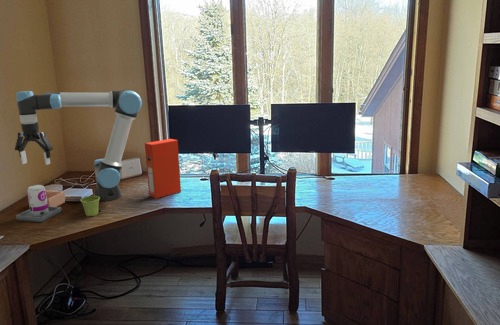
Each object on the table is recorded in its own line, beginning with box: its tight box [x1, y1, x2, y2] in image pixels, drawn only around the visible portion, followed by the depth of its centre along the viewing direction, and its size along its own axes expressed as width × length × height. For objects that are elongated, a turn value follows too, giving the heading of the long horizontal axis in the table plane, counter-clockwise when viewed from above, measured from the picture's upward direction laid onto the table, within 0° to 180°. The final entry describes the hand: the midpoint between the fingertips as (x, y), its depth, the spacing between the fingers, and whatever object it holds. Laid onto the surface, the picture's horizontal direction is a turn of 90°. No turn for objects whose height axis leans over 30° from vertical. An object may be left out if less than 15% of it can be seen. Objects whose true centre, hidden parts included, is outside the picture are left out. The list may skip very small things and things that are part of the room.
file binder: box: [144, 138, 182, 200], centre depth 239 cm, size 8×17×32 cm, turn 135°
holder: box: [27, 190, 66, 208], centre depth 226 cm, size 13×13×6 cm
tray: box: [15, 206, 63, 223], centre depth 211 cm, size 15×15×2 cm
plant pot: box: [80, 195, 100, 217], centre depth 211 cm, size 9×9×9 cm
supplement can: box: [27, 184, 49, 217], centre depth 209 cm, size 8×8×15 cm
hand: (36, 163), depth 207 cm, fingers open, 13 cm apart
